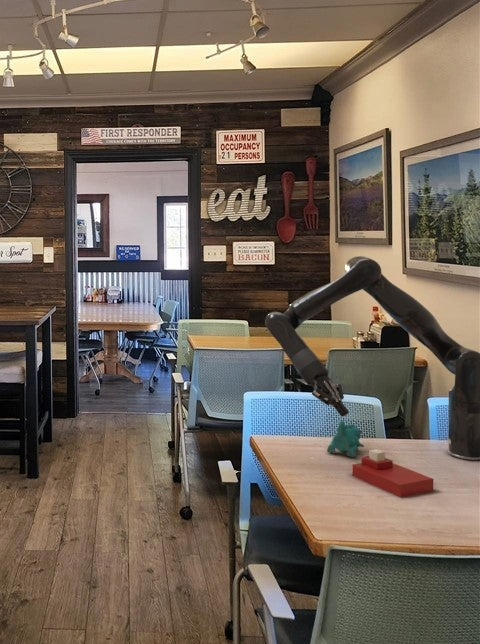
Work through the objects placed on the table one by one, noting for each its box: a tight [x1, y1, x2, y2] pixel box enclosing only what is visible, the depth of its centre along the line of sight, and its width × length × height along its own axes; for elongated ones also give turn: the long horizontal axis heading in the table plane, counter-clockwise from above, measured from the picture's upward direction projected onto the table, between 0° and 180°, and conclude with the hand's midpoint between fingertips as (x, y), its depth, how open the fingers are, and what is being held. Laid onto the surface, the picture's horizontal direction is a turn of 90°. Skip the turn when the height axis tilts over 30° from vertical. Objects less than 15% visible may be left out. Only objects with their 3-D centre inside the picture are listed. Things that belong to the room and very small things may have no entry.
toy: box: [326, 420, 365, 459], centre depth 193 cm, size 10×12×15 cm
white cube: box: [368, 448, 386, 462], centre depth 171 cm, size 3×3×3 cm
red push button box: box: [351, 455, 434, 498], centre depth 167 cm, size 12×16×5 cm
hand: (345, 414), depth 179 cm, fingers closed
